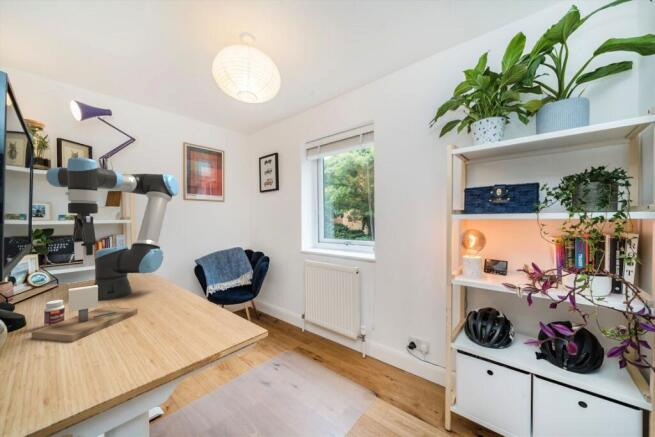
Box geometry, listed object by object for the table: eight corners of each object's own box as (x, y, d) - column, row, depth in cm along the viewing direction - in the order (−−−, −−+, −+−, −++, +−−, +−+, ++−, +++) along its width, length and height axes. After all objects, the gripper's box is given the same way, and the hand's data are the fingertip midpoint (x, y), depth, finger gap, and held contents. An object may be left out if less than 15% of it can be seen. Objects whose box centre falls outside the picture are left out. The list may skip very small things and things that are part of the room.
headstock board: (104, 311, 98) (104, 306, 98) (137, 313, 96) (137, 308, 96) (31, 338, 76) (31, 331, 76) (73, 341, 74) (73, 334, 74)
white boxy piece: (68, 322, 83) (68, 288, 83) (115, 312, 91) (115, 282, 91) (68, 324, 81) (68, 290, 80) (116, 314, 89) (116, 284, 89)
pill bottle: (50, 329, 82) (50, 304, 82) (40, 328, 83) (40, 303, 83) (68, 323, 87) (68, 299, 87) (58, 322, 88) (58, 298, 88)
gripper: (61, 202, 91) (62, 258, 92) (75, 201, 76) (77, 269, 77) (88, 202, 97) (89, 256, 98) (107, 202, 83) (108, 265, 83)
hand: (84, 261), depth 87 cm, fingers open, 13 cm apart
